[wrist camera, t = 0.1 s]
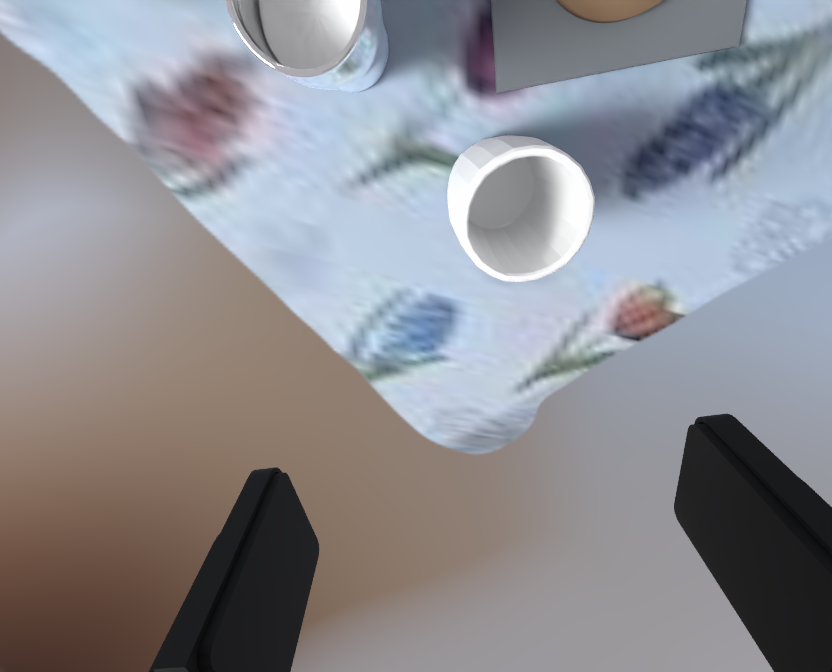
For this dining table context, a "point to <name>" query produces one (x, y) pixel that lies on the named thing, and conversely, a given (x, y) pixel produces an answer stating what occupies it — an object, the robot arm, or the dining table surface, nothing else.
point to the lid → (606, 9)
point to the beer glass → (316, 39)
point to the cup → (519, 206)
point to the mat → (603, 38)
